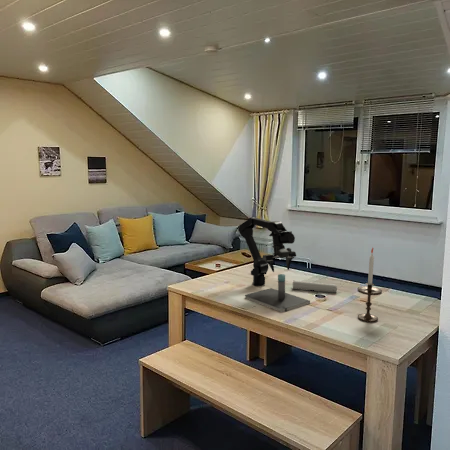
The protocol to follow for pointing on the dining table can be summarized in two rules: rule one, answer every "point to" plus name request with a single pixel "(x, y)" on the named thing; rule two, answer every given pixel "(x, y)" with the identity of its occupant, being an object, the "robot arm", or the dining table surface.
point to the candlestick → (369, 293)
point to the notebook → (276, 300)
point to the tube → (314, 286)
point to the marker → (281, 287)
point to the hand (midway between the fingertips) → (280, 270)
